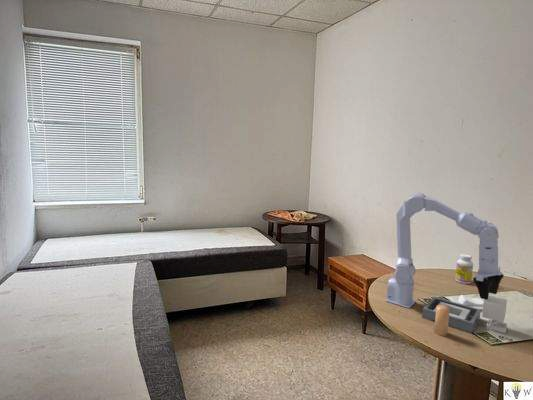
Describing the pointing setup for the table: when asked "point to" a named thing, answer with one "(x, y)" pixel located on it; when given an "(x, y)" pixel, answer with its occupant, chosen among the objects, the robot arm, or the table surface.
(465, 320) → the walled box
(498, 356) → the table surface
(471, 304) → the light switch
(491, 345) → the table surface
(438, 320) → the brown cylindrical peg
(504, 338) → the table surface
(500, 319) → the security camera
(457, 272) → the supplement bottle
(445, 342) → the table surface
